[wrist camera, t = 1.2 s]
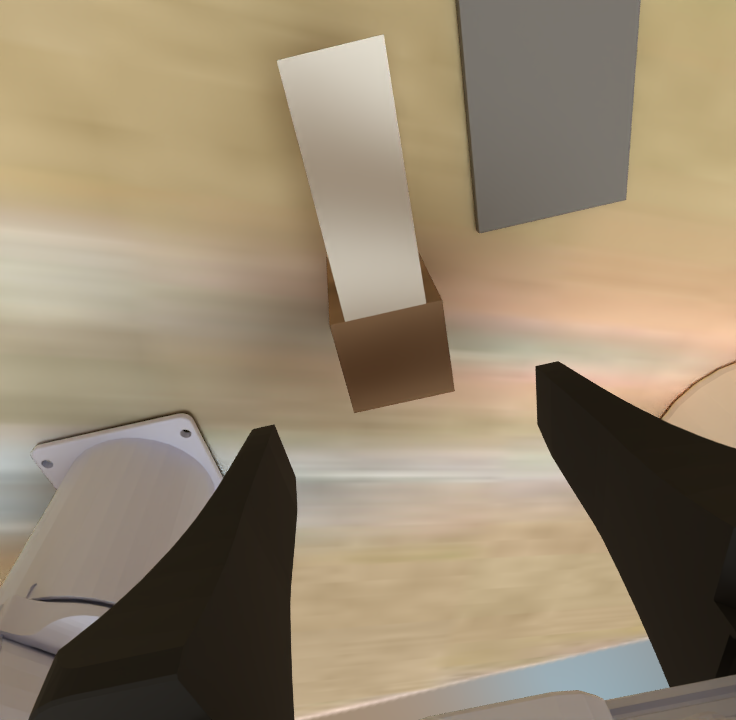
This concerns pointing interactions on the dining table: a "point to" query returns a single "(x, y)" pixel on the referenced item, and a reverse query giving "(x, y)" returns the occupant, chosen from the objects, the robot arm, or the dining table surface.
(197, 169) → the dining table surface
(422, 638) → the dining table surface
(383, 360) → the brown white angled block
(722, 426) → the mug
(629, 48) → the mat
